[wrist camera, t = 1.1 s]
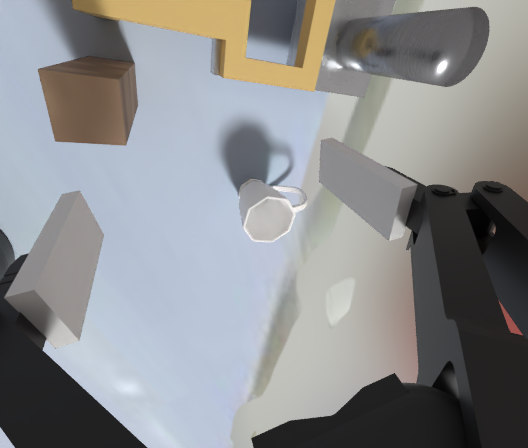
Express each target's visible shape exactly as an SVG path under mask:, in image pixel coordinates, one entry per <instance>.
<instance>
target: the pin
mask: <svg viewBox="0 0 528 448" xmlns="http://www.w3.org/2000/svg"><path fill="white" fill-rule="evenodd" d="M38 72H39V76H40V81H41V85H42V89H43V93H44V97H45V101H46V105H47V109H48V113H49V117H50V122H51V126H52V130H53V134H54V138H55V141H57V142H75V143H92V144H110V145H126V144H127V141H128V137H129V134H130V130H131V127H132V124H133V120H134V117H135V113H136V110H137V107H138V101H137V88H136V76H135V63H131V62H124V61H118V60H111V59H105V58H98V57H92V56H87V57H83V58H79V59H75V60H71V61H67V62H63V63H60V64H56V65H52V66H48V67H44V68H40V69H38Z"/></svg>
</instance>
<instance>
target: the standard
mask: <svg viewBox="0 0 528 448" xmlns="http://www.w3.org/2000/svg"><path fill="white" fill-rule="evenodd" d="M306 1H307V0H298V2H297V7H296V13H295V19H294V25H293V30H292V36H291V42H290V47H289V53H288V59H287V65H288V66H294V64H295V59H296V54H297V48H298V43H299V38H300V32H301V27H302V22H303V16H304V11H305V6H306ZM394 4H395V0H336V1H335V5H334V9H333V14H332V18H331V22H330V26H329V31H328V35H327V39H326V44H325V48H324V52H323V57H322V61H321V65H320V70H319V74H318V78H317V82H316V87H315V90H318V91H324V92H331V93H337V94H344V95H351V96H357V97H363V98H364V96H365V93H366V90H367V87H368V84H369V81H370V78H371V75H372V74H373V75H379V76H385V77H391V78H397V79H403V80H408V81H415V82H421V83H427V84H432V85H438V86H444V87H448V86H453V85H455V84H457V83H459V82H461V81H462V80H463V79H465V78H466V77H467V76H468V75H469V74H470V73H471V72H472V70H473V69H474V68H475V66H476V65H477V63H478V62H479V60H480V58H481V57H482V55H483V52H484V50H485V47H486V45H487V41H488V36H489V20H488V17H487V14H486V13H485V11H483V10H482V9H481V8H478V7H468V8H458V9H448V10H437V11H427V12H417V13H407V14H397V15H391V13H392V10H393V7H394ZM221 41H222V40H221V39H214V38H212V52H211V73H212V74H214V75H219V73H220V57H221ZM245 58H246V57H245ZM250 59H251V58H250ZM255 60H257V59H255ZM261 61H262V60H261ZM266 62H267V61H266ZM272 63H273V62H272ZM277 64H278V63H277ZM283 65H284V64H283Z"/></svg>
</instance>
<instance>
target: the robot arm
mask: <svg viewBox="0 0 528 448" xmlns="http://www.w3.org/2000/svg"><path fill="white" fill-rule="evenodd" d="M319 172H320V173H319V182H320V183H321V184H322V185H323V186H325V187H326V188H327V189H328V190H329V191H330V192H332V193H333V194H334V195H335V196H336V197H338V198H339V199H340V200H341V201H342V202H343V203H345V204H346V205H347V206H348V207H349V208H350V209H352V210H353V211H354V212H355V213H356V214H358V215H359V216H360V217H361V218H362V219H363V220H365V221H366V222H367V223H368V224H369V225H370V226H372V227H373V228H374V229H375V230H377V231H378V232H379V233H380V234H381V235H382V236H384V237H385V238H386V239H387V240H388V241H391V240H394V239H397V238H400V237H403V233H404V230H405V227H406V226H407V227H408V228H409V229H411V230H412V232H411V235H410V238H409V242H408V245H407V248H406V250H409V248H410V247H411V262H412V276H413V291H414V306H415V321H416V336H417V351H418V364H419V366H418V367H419V370H418V378H417V383H416V384H415V383H401V381H400V380H399V378H398V377H397V376H396V374H395V373H394V374H392V375H389V376H387V377H385V378H383V379H381V380H378V381H376V382H374V383H372V384H370V385H367V386H365V387H363V388H362V389H361V390H360V391H359V392H358V393H357V394H356V395H355V396H354V397H353V398H351V399H350V400H349V401H348V402H347V403H346V404H345V405H344V406H343V407H342V408H341V409H340V410H339V411H338V412H337V413H336V414H334V415H332V416H325V417H317V418H309V419H300V420H292V421H288V422H286V423H284V424H282V425H279V426H277V427H275V428H273V429H271V430H268V431H266V432H264V433H262V434H260V435H257V436H255V437H253V438H251V439H252V443H253V447H254V448H528V202H527V201H526V200H524V199H523V198H522V197H520V196H519V195H518V194H517V193H516V192H514V191H513V190H512V189H511V188H509V187H507V186H506V185H503V184H500V183H498V182H494V181H481V182H477V183H475V185H474V187H473V190H472V192H471V193H459V192H458V191H457V190H455V189H453V188H451V187H448V186H444V185H429V186H427V187H426V186H425V185H423V184H421V183H419V182H417V181H415V180H413V179H411V178H409V177H407V176H406V175H404V174H402V173H400V172H398V171H397V170H395V169H393V168H390V167H386V166H383V165H381V164H379V163H377V162H376V161H374V160H372V159H370V158H368V157H366V156H365V155H363V154H361V153H359V152H357V151H356V150H354V149H352V148H350V147H348V146H346V145H345V144H343V143H341V142H339V141H337V140H335V139H333V138H329V139H324V140H321V150H320V171H319ZM494 227H496V232H495V235H494V233H493V232H492V231H493V229H494ZM103 237H104V234H103V232H102V230H101V228H100V227H99V225H98V223H97V221H96V219H95V217H94V216H93V214H92V212H91V210H90V208H89V207H88V205H87V203H86V201H85V199H84V197H83V196H82V194H81V192H80V191H75V192H70V193H66V194H62V196H61V197H60V199H59V201H58V203H57V204H56V206H55V208H54V210H53V212H52V213H51V215H50V217H49V219H48V221H47V222H46V224H45V226H44V228H43V229H42V231H41V233H40V235H39V237H38V238H37V240H36V242H35V244H34V245H33V247H32V249H31V251H30V253H29V254H25V255H21V256H20V257H19V258H18V259H17V260H15V257H14V251H13V249H12V246H11V244H10V242H9V241H8V239H7V238H6V236H5V235H4V234H3V233H2V232H1V231H0V427H1V429H2V430H3V432H4V433H5V434H6V436H7V437H8V438H9V440H10V441H11V443H12V444H13V445H14V447H15V448H147V447H146V446H145V445H144V444H143V443H142V442H141V441H139V440H138V439H137V438H136V437H135V436H134V435H133V434H132V433H131V432H130V431H129V430H128V429H127V428H125V427H124V426H123V425H122V424H121V423H120V422H119V421H118V420H117V419H116V418H115V417H114V416H113V415H111V414H110V413H109V412H108V411H107V410H106V409H105V408H104V407H103V406H102V405H101V404H100V403H99V402H97V401H96V400H95V399H94V398H93V397H92V396H91V395H90V394H89V393H88V392H87V391H86V390H85V389H83V388H82V387H81V386H80V385H79V384H78V383H77V382H76V381H75V380H74V379H73V378H72V377H71V376H69V375H68V374H67V373H66V372H65V371H64V370H63V369H62V368H61V367H60V366H59V365H58V364H57V363H56V362H54V361H53V360H52V359H51V358H50V357H49V356H48V355H47V354H46V353H45V352H44V351H43V347H44V344H45V341H46V340H47V341H48V342H49V343H50V344H51V345H52V346H53V347H54V348H55V349H56V348H59V347H62V346H65V345H68V344H71V343H74V342H77V341H79V340H80V336H81V332H82V327H83V323H84V319H85V314H86V310H87V306H88V301H89V297H90V293H91V289H92V284H93V280H94V276H95V271H96V267H97V263H98V259H99V254H100V250H101V246H102V241H103ZM498 300H499V301H500V302H501V304H502V305H503V307H504V308H505V310H506V311H507V312H508V314H509V315H510V317H511V318H512V320H513V321H514V323H515V324H516V325H517V327H518V328H519V330H520V331H521V333H522V334H523V336H522V335H518V334H514V333H510V331H509V329H508V326H507V323H506V320H505V318H504V315H503V312H502V309H501V307H500V304H499V301H498Z"/></svg>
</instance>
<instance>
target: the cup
mask: <svg viewBox="0 0 528 448" xmlns="http://www.w3.org/2000/svg"><path fill="white" fill-rule="evenodd" d="M278 191H286V192H293V193H297V194H299V195H301V196H302V197H303V199H304V202H303V203H301V204H298V205H291V204H290V202H289V200H288V199H287V198H286V197H285V196H283V195H282V194H281V193H279V192H278ZM238 196H239V198H240V199H239V209H240V214H241V220H242V226H243V229H244V230H245V231H246V233H247V234H248V235H249V236H250V238H251V239H252V240H253V241H257V242H273V241H275V240H277V239H278V238H280V237H281V236H283V235H284V234H286V233H287V232H289V231H290V228H291V226H292V223H293V221H294V218H295V216H296V213H295V212H298V211H301V210H303V209H304V208H305V207H306V205H307V196H306V194H305V192H304V191H303V190H301V189H299V188H296V187H292V186H279V185H275V186H269V185H267V184H265V183H263V182H262V180H257V179H249V180H248V181H246V182H245V183H243V184H241V186H240V190H239V194H238Z"/></svg>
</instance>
